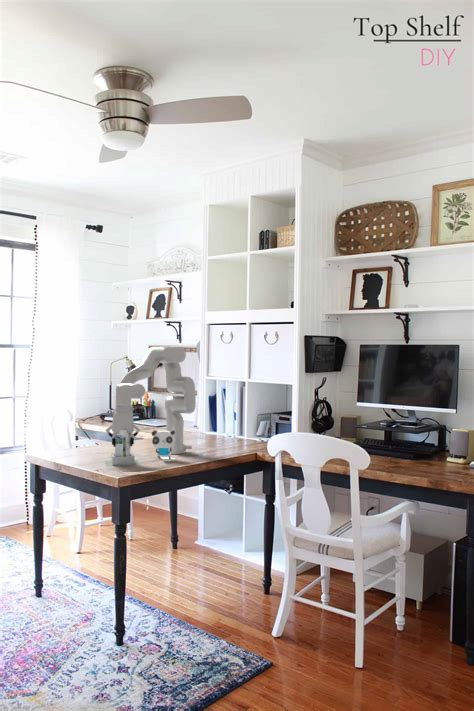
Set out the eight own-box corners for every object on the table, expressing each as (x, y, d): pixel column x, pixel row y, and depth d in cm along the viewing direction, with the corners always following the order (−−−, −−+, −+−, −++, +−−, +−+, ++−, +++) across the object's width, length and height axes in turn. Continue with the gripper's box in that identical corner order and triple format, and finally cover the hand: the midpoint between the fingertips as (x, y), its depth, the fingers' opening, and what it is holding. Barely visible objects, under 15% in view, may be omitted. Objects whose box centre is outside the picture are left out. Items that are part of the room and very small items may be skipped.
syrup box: (114, 459, 290) (114, 429, 290) (120, 457, 296) (121, 427, 296) (124, 460, 288) (124, 430, 288) (130, 458, 294) (131, 428, 294)
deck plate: (137, 463, 301) (137, 460, 301) (140, 468, 287) (140, 465, 287) (105, 464, 297) (105, 461, 297) (106, 469, 283) (106, 466, 283)
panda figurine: (149, 461, 307) (150, 431, 307) (153, 457, 318) (154, 428, 318) (173, 461, 306) (173, 432, 306) (176, 457, 318) (176, 429, 318)
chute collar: (132, 460, 298) (132, 452, 298) (134, 464, 288) (134, 456, 288) (111, 461, 296) (111, 453, 296) (112, 465, 286) (112, 457, 286)
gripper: (140, 409, 298) (140, 444, 298) (104, 409, 293) (104, 445, 293) (142, 410, 290) (141, 446, 291) (105, 410, 286) (104, 447, 286)
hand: (122, 445), depth 292 cm, fingers closed on syrup box, 7 cm apart
